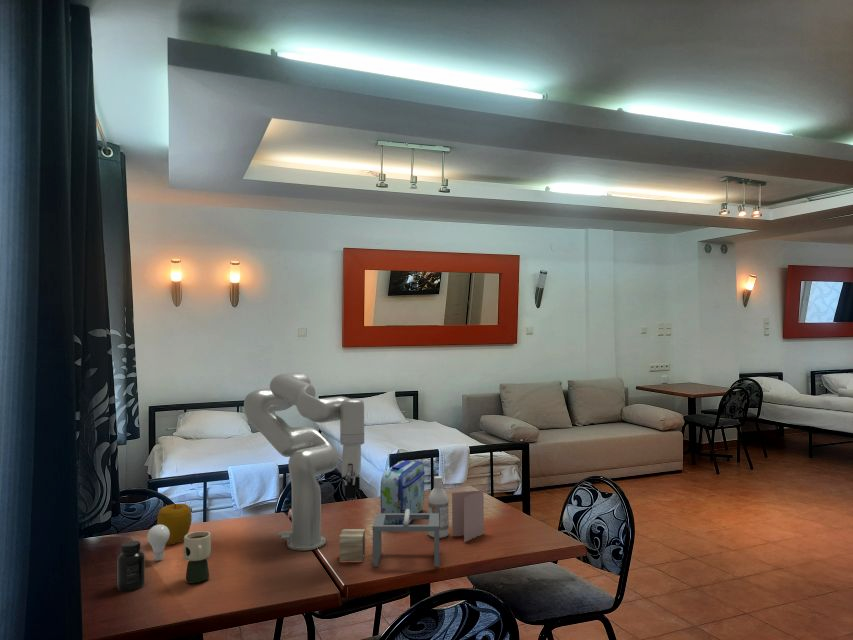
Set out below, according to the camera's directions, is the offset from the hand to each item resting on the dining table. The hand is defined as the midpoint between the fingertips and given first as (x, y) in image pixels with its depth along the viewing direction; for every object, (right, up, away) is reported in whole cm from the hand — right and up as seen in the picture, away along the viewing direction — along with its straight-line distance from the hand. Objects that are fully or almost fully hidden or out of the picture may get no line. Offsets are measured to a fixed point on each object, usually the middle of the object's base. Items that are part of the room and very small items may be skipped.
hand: (352, 493), depth 188 cm
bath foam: (+27, -21, +21) cm, 40 cm away
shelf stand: (+17, -20, -1) cm, 26 cm away
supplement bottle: (-59, -20, -20) cm, 66 cm away
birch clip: (0, -20, 0) cm, 20 cm away
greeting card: (+38, -20, +18) cm, 47 cm away
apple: (-62, -21, +15) cm, 67 cm away
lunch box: (+14, -21, +39) cm, 47 cm away
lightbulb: (-60, -21, -1) cm, 63 cm away
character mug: (-42, -20, -16) cm, 50 cm away
